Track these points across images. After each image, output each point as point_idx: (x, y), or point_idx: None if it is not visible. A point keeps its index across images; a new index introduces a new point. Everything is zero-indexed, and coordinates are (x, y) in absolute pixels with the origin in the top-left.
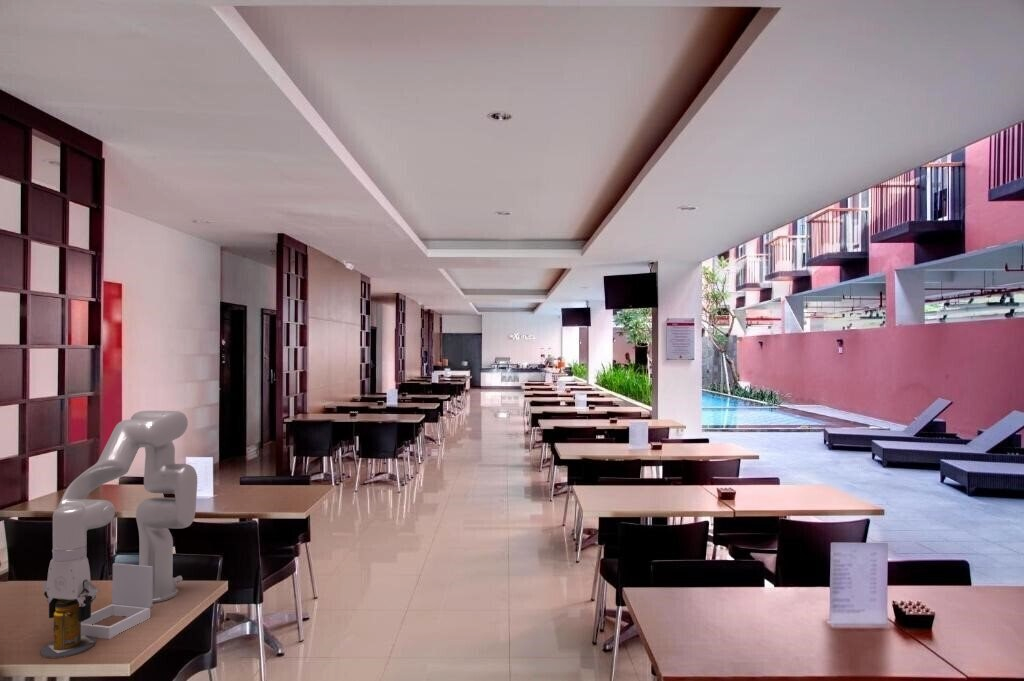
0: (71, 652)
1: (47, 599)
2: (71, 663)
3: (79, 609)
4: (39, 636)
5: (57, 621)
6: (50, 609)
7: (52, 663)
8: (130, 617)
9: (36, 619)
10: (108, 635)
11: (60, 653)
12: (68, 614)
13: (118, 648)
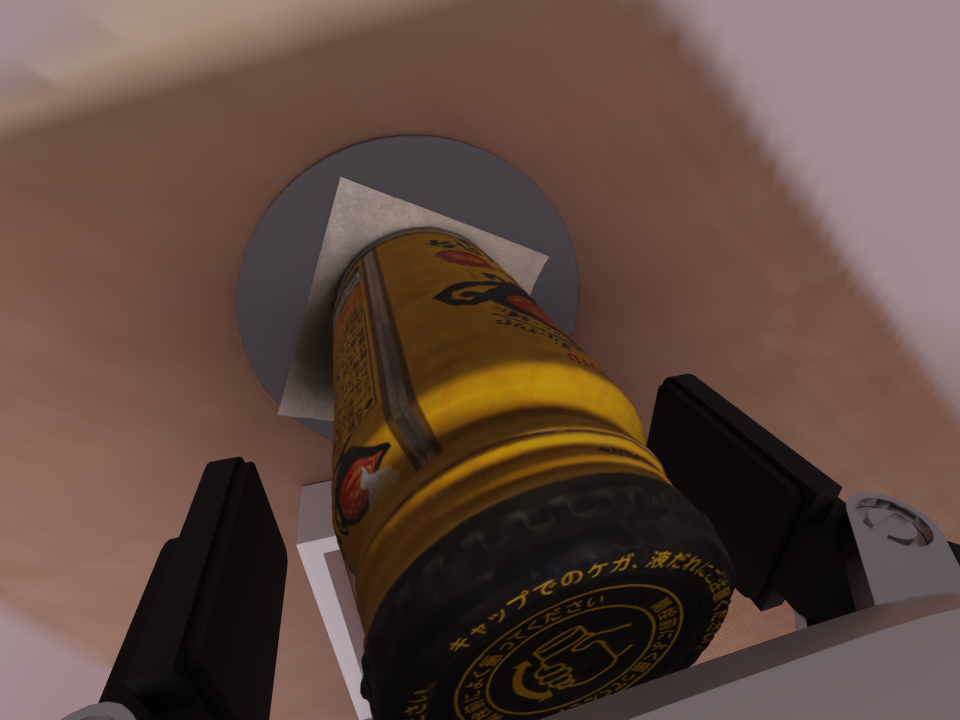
0: (260, 241)
1: (932, 531)
2: (65, 110)
3: (171, 617)
4: (722, 351)
5: (470, 325)
6: (743, 435)
7: (251, 55)
8: (335, 649)
9: (842, 447)
10: (304, 501)
11: (330, 194)
12: (359, 461)
13: (51, 442)
